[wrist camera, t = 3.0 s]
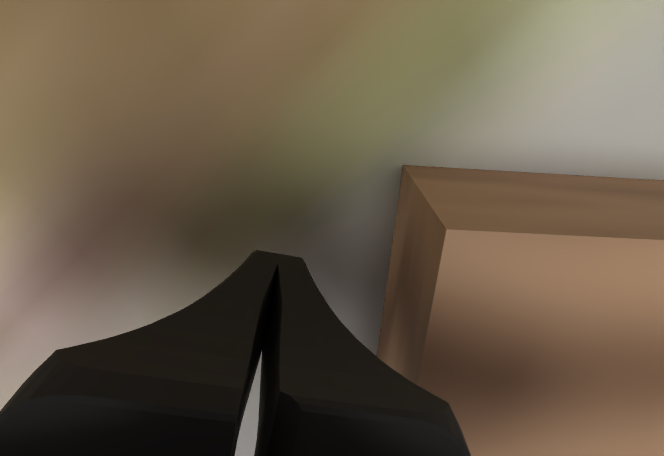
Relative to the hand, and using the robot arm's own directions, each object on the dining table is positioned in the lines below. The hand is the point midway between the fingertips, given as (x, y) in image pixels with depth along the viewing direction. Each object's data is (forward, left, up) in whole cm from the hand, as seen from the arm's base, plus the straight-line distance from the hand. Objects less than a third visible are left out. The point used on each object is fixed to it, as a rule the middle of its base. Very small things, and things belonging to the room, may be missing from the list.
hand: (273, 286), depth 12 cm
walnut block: (0, -9, -3) cm, 9 cm away
